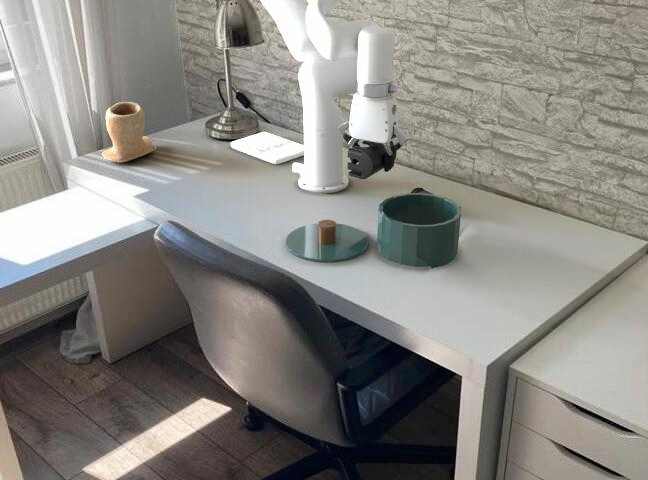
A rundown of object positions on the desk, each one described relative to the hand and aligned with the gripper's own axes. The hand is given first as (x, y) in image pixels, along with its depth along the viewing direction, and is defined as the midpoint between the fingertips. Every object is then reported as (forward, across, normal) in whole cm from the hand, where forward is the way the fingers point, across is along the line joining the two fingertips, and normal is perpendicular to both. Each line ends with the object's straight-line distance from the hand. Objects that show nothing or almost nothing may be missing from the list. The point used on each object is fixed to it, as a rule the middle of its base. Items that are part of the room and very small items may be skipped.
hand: (371, 166), depth 178 cm
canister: (+12, -17, +12) cm, 24 cm away
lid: (+11, +1, +19) cm, 22 cm away
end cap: (+2, 0, 0) cm, 2 cm away
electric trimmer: (+12, -12, -11) cm, 20 cm away
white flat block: (+13, +43, -26) cm, 52 cm away
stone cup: (+13, +74, -4) cm, 76 cm away
